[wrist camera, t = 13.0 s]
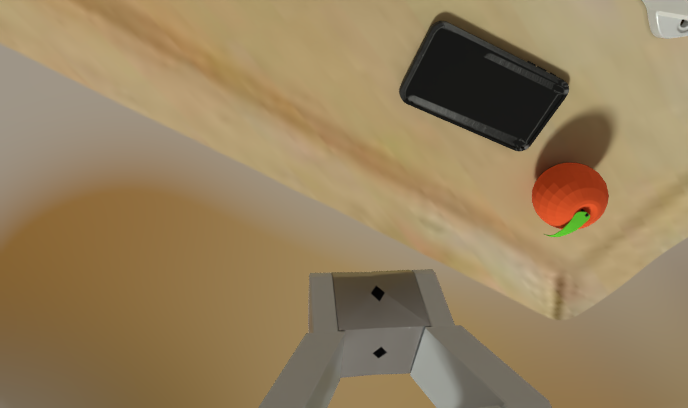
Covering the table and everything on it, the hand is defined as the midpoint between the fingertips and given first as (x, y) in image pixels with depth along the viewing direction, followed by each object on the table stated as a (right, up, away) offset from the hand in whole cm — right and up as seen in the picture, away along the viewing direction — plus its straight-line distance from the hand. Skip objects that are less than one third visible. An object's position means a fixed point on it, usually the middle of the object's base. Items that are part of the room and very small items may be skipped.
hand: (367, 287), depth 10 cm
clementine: (+22, +4, +36) cm, 42 cm away
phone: (+13, +13, +30) cm, 35 cm away
